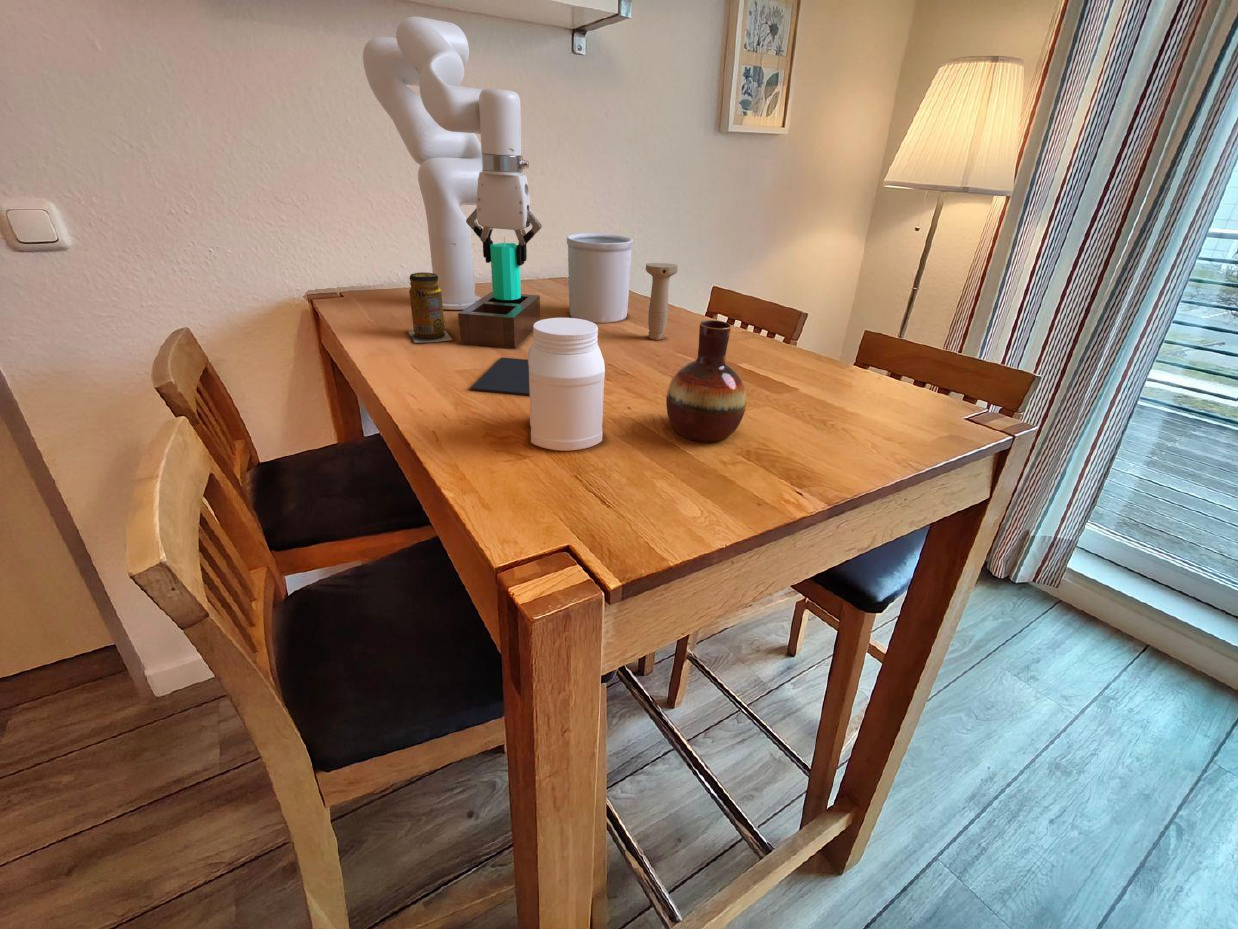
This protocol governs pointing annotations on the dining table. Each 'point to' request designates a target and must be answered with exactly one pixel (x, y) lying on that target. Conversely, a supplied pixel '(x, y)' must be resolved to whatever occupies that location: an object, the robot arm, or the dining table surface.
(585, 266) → the utensil holder
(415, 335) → the condiment
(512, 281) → the candle
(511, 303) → the holder
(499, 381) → the mat
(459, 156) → the robot arm
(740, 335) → the dining table surface
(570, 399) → the jar
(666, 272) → the handle
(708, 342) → the vase
